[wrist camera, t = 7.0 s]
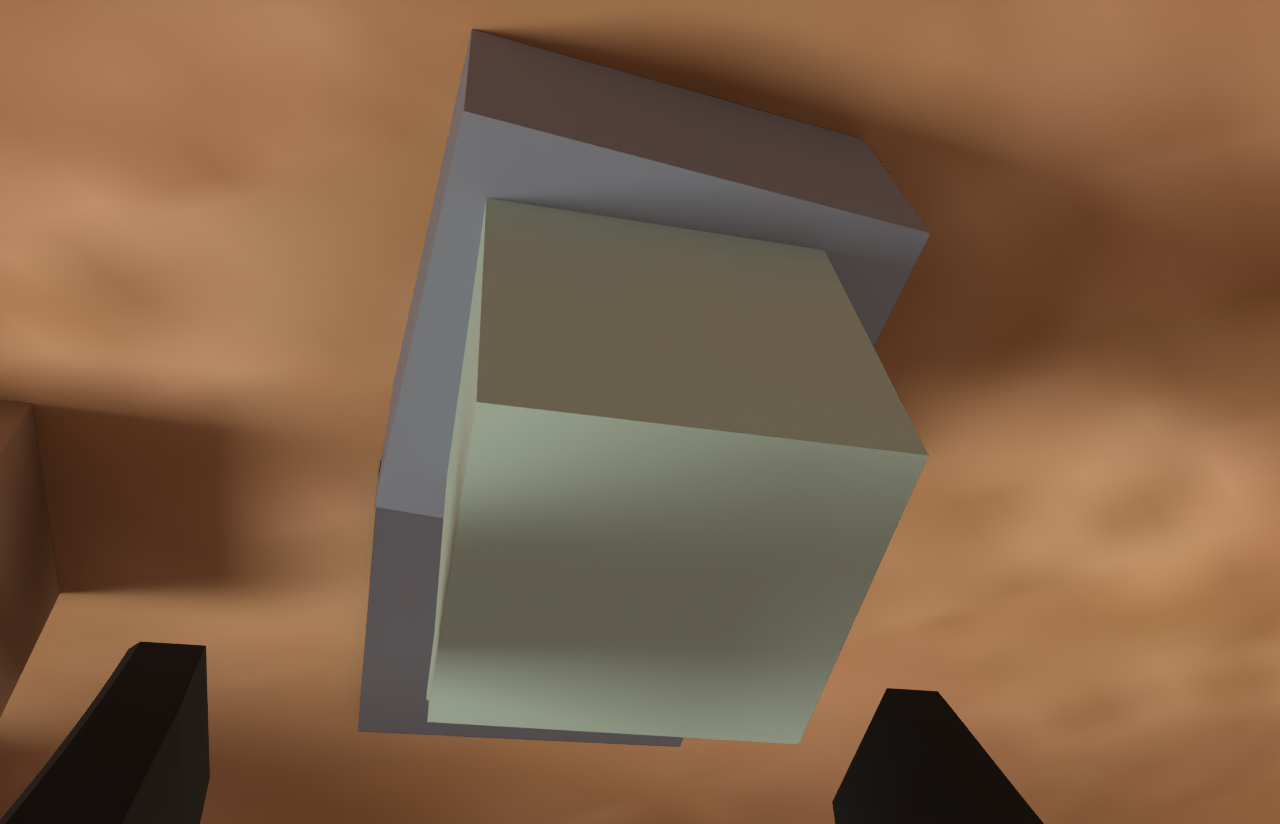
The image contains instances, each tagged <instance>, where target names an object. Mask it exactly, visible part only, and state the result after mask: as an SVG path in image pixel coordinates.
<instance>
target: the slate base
mask: <svg viewBox="0 0 1280 824" xmlns="http://www.w3.org/2000/svg"><path fill="white" fill-rule="evenodd" d="M486 198H491V199H498V200H504V201H511V202H517V203H524V204H530V205H537V206H543V207H550V208H556V209H562V210H569V211H575V212H582V213H588V214H595V215H601V216H608V217H614V218H621V219H627V220H633V221H640V222H646V223H653V224H659V225H666V226H672V227H679V228H685V229H691V230H698V231H704V232H711V233H717V234H724V235H730V236H737V237H743V238H749V239H756V240H762V241H769V242H775V243H782V244H788V245H795V246H801V247H807V248H814V249H820V250H824V251H825V253H826V255H827V257H828V259H829V261H830V263H831V265H832V267H833V269H834V271H835V272H836V274H837V276H838V278H839V280H840V282H841V284H842V286H843V288H844V290H845V292H846V294H847V296H848V298H849V300H850V302H851V304H852V306H853V308H854V310H855V312H856V314H857V316H858V318H859V320H860V322H861V324H862V326H863V327H864V329H865V331H866V333H867V335H868V337H869V339H870V341H871V343H872V345H873V347H874V346H875V344H876V342H877V340H878V338H879V336H880V334H881V332H882V330H883V328H884V326H885V324H886V322H887V320H888V318H889V316H890V314H891V312H892V310H893V308H894V306H895V304H896V302H897V300H898V298H899V296H900V294H901V292H902V290H903V288H904V286H905V284H906V282H907V280H908V278H909V276H910V274H911V272H912V270H913V268H914V266H915V264H916V262H917V260H918V258H919V256H920V254H921V252H922V250H923V248H924V246H925V244H926V242H927V240H928V238H929V236H930V234H931V233H930V232H929V231H928V229H927V228H926V226H925V225H924V224H923V222H922V221H921V219H920V218H919V217H918V215H917V214H916V212H915V211H914V209H913V208H912V207H911V205H910V204H909V202H908V201H907V200H906V198H905V197H904V195H903V194H902V192H901V191H900V190H899V188H898V187H897V185H896V184H895V183H894V181H893V180H892V178H891V177H890V176H889V174H888V173H887V171H886V170H885V168H884V167H883V166H882V164H881V163H880V161H879V160H878V159H877V157H876V156H875V154H874V153H873V152H872V150H871V149H870V147H869V146H868V144H867V143H866V142H865V140H863V139H860V138H856V137H853V136H849V135H846V134H842V133H839V132H835V131H831V130H828V129H824V128H821V127H817V126H814V125H810V124H807V123H803V122H800V121H796V120H793V119H789V118H785V117H782V116H778V115H775V114H771V113H768V112H764V111H761V110H757V109H754V108H750V107H747V106H743V105H739V104H736V103H732V102H729V101H725V100H722V99H718V98H715V97H711V96H708V95H704V94H700V93H697V92H693V91H690V90H686V89H683V88H679V87H676V86H672V85H669V84H665V83H662V82H658V81H654V80H651V79H647V78H644V77H640V76H637V75H633V74H630V73H626V72H623V71H619V70H616V69H612V68H608V67H605V66H601V65H598V64H594V63H591V62H587V61H584V60H580V59H577V58H573V57H569V56H566V55H562V54H559V53H555V52H552V51H548V50H545V49H541V48H538V47H534V46H531V45H527V44H523V43H520V42H516V41H513V40H509V39H506V38H502V37H499V36H495V35H492V34H488V33H485V32H481V31H477V30H474V29H472V31H471V35H470V40H469V44H468V49H467V53H466V58H465V63H464V67H463V72H462V76H461V81H460V85H459V90H458V94H457V99H456V103H455V108H454V112H453V117H452V121H451V126H450V130H449V135H448V140H447V144H446V149H445V153H444V158H443V162H442V167H441V171H440V176H439V180H438V185H437V189H436V194H435V198H434V203H433V208H432V212H431V217H430V221H429V226H428V230H427V235H426V239H425V244H424V248H423V253H422V257H421V262H420V266H419V271H418V275H417V280H416V285H415V289H414V294H413V298H412V303H411V307H410V312H409V316H408V321H407V325H406V330H405V334H404V339H403V343H402V348H401V353H400V357H399V362H398V366H397V371H396V375H395V380H394V385H393V391H392V398H391V404H390V410H389V417H388V423H387V430H386V436H385V442H384V449H383V455H382V461H381V468H380V474H379V481H378V487H377V493H376V500H375V506H374V507H380V508H385V509H391V510H397V511H403V512H409V513H415V514H421V515H427V516H433V517H439V518H444V506H445V494H446V481H447V472H448V465H449V458H450V451H451V444H452V437H453V430H454V423H455V416H456V409H457V402H458V394H459V387H460V380H461V373H462V366H463V359H464V352H465V345H466V338H467V331H468V324H469V317H470V310H471V303H472V296H473V289H474V282H475V274H476V267H477V260H478V253H479V246H480V239H481V232H482V225H483V218H484V211H485V204H486Z"/></svg>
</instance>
